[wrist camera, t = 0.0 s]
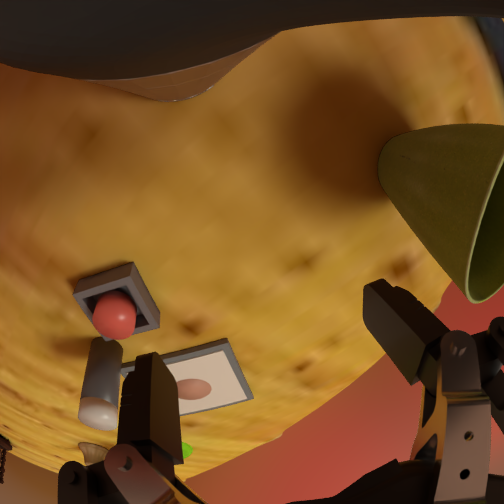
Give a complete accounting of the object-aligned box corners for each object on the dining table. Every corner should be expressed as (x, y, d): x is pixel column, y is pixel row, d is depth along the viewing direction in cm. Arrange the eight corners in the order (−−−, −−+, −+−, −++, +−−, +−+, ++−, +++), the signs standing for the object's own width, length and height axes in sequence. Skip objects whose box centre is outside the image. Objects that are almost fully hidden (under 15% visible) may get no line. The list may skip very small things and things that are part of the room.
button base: (78, 280, 25) (72, 294, 23) (133, 261, 26) (130, 275, 23) (108, 326, 29) (105, 341, 27) (160, 312, 29) (159, 327, 27)
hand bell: (98, 455, 48) (99, 505, 35) (72, 444, 44) (71, 497, 30) (115, 451, 48) (117, 506, 34) (88, 440, 43) (87, 498, 30)
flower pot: (337, 107, 22) (483, 136, 9) (435, 97, 23) (548, 128, 10) (354, 239, 30) (446, 332, 17) (438, 205, 31) (525, 264, 18)
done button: (89, 296, 24) (84, 312, 22) (125, 285, 25) (121, 302, 23) (110, 326, 27) (106, 342, 24) (143, 317, 27) (142, 334, 25)
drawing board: (117, 364, 32) (116, 371, 31) (227, 338, 33) (228, 344, 33) (166, 414, 41) (166, 419, 40) (252, 394, 42) (254, 400, 41)
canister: (85, 340, 29) (70, 413, 20) (112, 333, 29) (101, 411, 20) (102, 361, 31) (94, 431, 22) (129, 355, 32) (124, 429, 22)
